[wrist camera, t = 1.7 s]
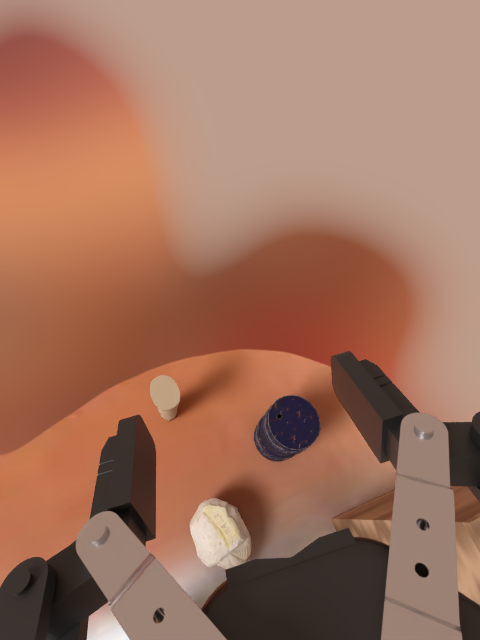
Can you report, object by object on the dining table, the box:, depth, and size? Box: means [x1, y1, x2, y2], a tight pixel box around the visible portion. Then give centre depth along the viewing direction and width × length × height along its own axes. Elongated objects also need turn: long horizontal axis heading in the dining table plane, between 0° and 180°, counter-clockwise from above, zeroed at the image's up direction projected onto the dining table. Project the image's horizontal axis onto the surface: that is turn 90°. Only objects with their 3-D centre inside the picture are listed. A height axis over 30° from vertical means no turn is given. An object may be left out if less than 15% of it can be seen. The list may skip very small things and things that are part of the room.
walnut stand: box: [332, 486, 480, 605], centre depth 49 cm, size 18×16×38 cm
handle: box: [150, 375, 180, 421], centre depth 66 cm, size 5×6×15 cm
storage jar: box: [254, 395, 320, 461], centre depth 67 cm, size 10×10×15 cm
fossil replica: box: [190, 498, 251, 569], centre depth 59 cm, size 12×8×10 cm
